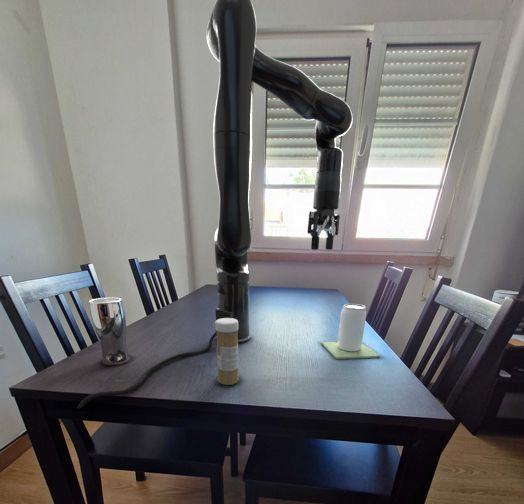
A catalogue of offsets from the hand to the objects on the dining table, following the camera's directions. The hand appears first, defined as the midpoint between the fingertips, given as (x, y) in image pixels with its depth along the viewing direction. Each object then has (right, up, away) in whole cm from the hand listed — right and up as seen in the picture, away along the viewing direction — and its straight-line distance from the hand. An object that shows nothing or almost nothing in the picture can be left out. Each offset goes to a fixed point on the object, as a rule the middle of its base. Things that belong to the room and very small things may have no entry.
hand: (322, 249), depth 89 cm
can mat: (+6, -32, -9) cm, 34 cm away
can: (+6, -31, -9) cm, 33 cm away
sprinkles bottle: (-26, -39, -28) cm, 54 cm away
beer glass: (-55, -35, -19) cm, 68 cm away
